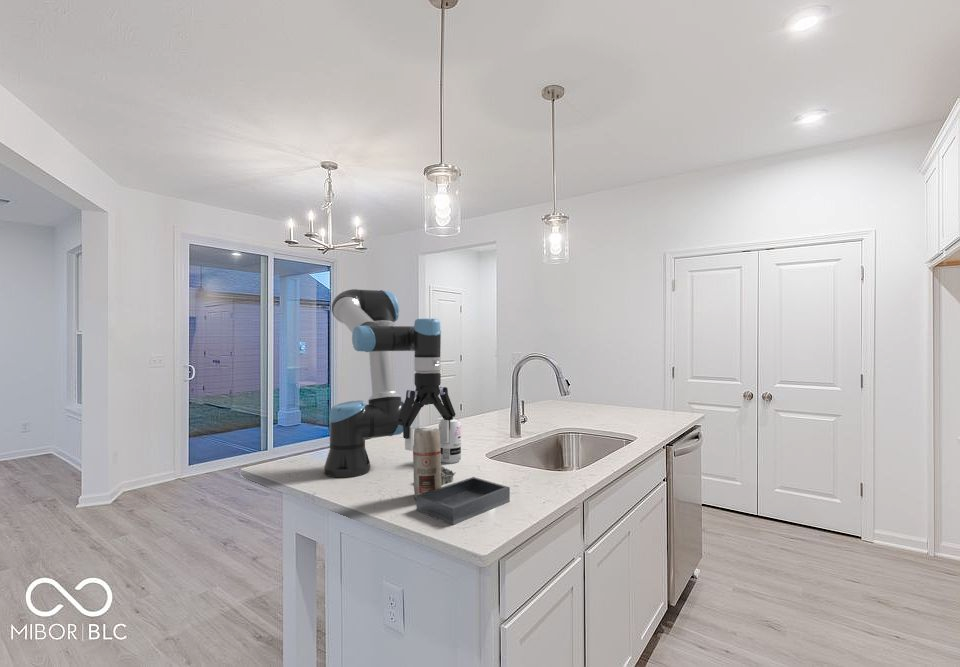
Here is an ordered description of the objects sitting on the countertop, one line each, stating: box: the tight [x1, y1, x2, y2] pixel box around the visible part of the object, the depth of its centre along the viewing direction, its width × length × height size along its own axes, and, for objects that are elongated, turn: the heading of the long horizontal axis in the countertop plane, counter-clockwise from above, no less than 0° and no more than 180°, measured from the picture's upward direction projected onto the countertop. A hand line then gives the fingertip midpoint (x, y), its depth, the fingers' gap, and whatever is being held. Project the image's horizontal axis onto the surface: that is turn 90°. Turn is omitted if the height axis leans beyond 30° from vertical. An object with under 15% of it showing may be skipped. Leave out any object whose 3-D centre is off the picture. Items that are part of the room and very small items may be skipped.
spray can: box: [412, 427, 443, 499], centre depth 135 cm, size 8×8×20 cm
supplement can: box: [438, 418, 462, 464], centre depth 173 cm, size 8×8×15 cm
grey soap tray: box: [415, 476, 511, 526], centre depth 127 cm, size 22×14×4 cm, turn 137°
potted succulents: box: [441, 465, 456, 486], centre depth 148 cm, size 11×8×4 cm
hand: (427, 445), depth 134 cm, fingers open, 13 cm apart
